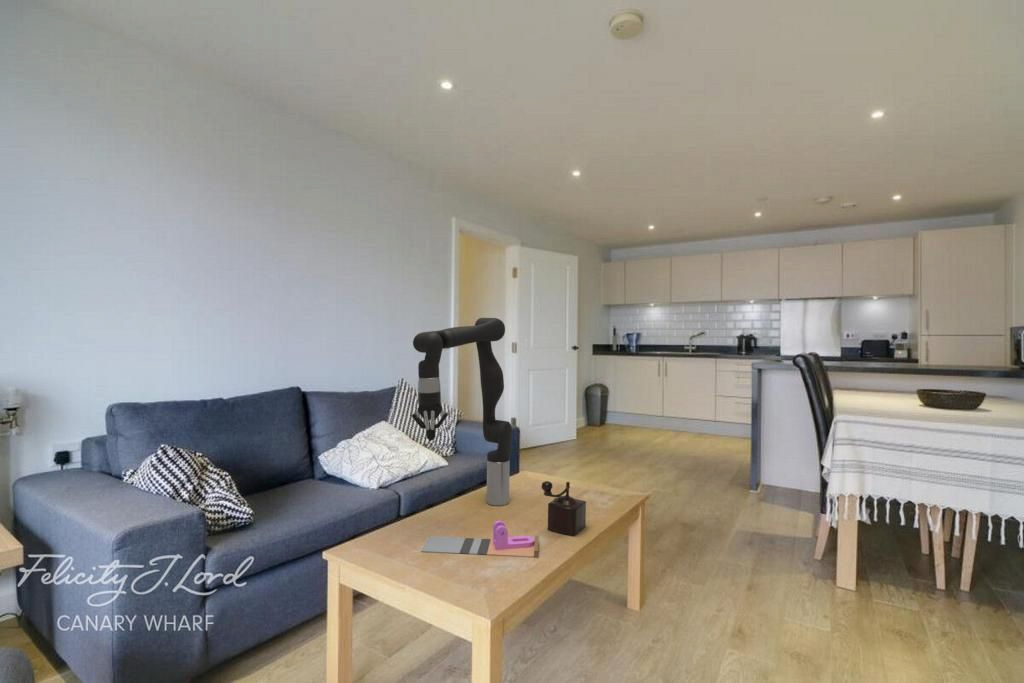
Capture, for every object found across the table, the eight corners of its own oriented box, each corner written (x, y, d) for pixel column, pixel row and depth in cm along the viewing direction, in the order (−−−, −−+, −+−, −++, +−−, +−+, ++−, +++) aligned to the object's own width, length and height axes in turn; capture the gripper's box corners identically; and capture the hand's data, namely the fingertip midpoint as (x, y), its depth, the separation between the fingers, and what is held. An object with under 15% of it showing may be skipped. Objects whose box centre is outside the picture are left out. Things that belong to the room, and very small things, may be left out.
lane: (429, 537, 158) (429, 531, 158) (538, 542, 156) (538, 536, 156) (421, 551, 147) (421, 545, 147) (537, 557, 145) (538, 550, 145)
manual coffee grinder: (558, 520, 175) (559, 471, 175) (586, 527, 169) (587, 476, 169) (538, 534, 162) (538, 481, 162) (567, 542, 156) (568, 487, 156)
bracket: (495, 549, 149) (496, 527, 149) (493, 542, 154) (493, 520, 154) (536, 546, 151) (536, 525, 151) (532, 539, 157) (532, 518, 157)
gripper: (450, 388, 167) (451, 437, 168) (412, 389, 168) (414, 437, 168) (446, 391, 160) (448, 442, 161) (407, 392, 160) (409, 443, 161)
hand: (431, 440), depth 164 cm, fingers closed
